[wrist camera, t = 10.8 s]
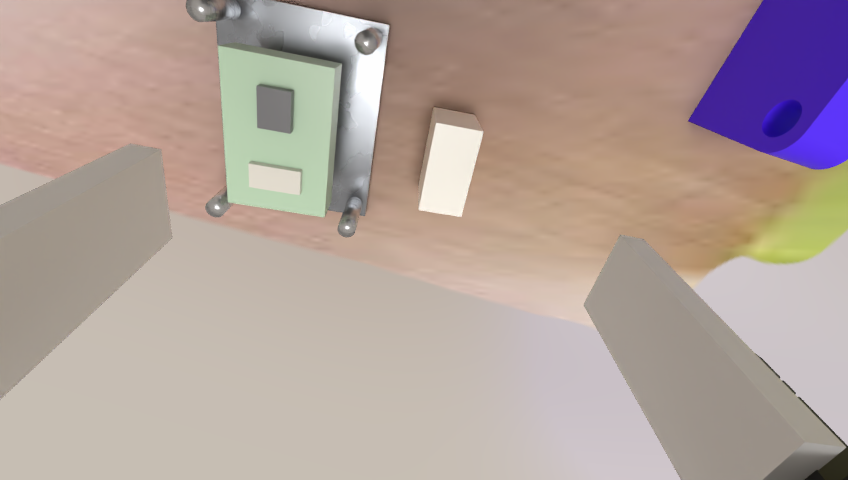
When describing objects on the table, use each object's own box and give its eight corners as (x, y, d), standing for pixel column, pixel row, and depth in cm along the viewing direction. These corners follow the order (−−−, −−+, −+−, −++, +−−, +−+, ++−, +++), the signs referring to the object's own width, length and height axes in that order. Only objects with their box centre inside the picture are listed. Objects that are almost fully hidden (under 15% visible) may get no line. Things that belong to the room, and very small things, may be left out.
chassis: (220, -12, 33) (177, -16, 27) (389, 24, 34) (384, 28, 28) (232, 189, 41) (201, 218, 36) (366, 210, 43) (358, 242, 37)
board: (235, 42, 30) (212, 46, 27) (341, 63, 31) (332, 70, 28) (241, 188, 36) (223, 206, 33) (331, 202, 37) (322, 221, 33)
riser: (433, 106, 38) (436, 122, 32) (474, 114, 38) (483, 131, 33) (418, 184, 42) (418, 210, 36) (455, 191, 42) (461, 217, 37)
